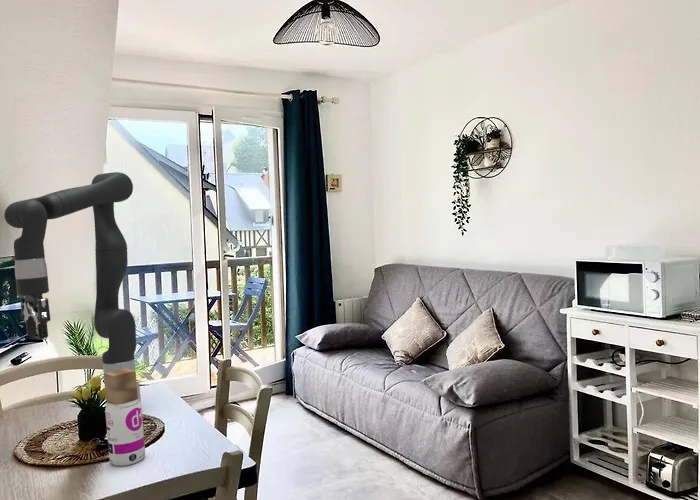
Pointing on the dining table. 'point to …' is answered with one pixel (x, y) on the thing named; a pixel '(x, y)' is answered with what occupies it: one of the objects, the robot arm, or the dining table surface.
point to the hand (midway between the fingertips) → (37, 336)
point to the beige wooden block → (120, 386)
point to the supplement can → (125, 433)
